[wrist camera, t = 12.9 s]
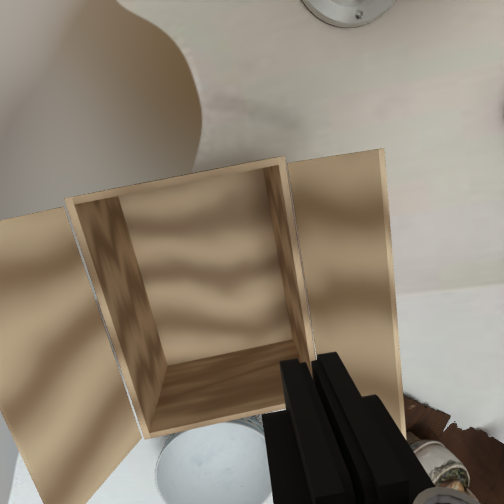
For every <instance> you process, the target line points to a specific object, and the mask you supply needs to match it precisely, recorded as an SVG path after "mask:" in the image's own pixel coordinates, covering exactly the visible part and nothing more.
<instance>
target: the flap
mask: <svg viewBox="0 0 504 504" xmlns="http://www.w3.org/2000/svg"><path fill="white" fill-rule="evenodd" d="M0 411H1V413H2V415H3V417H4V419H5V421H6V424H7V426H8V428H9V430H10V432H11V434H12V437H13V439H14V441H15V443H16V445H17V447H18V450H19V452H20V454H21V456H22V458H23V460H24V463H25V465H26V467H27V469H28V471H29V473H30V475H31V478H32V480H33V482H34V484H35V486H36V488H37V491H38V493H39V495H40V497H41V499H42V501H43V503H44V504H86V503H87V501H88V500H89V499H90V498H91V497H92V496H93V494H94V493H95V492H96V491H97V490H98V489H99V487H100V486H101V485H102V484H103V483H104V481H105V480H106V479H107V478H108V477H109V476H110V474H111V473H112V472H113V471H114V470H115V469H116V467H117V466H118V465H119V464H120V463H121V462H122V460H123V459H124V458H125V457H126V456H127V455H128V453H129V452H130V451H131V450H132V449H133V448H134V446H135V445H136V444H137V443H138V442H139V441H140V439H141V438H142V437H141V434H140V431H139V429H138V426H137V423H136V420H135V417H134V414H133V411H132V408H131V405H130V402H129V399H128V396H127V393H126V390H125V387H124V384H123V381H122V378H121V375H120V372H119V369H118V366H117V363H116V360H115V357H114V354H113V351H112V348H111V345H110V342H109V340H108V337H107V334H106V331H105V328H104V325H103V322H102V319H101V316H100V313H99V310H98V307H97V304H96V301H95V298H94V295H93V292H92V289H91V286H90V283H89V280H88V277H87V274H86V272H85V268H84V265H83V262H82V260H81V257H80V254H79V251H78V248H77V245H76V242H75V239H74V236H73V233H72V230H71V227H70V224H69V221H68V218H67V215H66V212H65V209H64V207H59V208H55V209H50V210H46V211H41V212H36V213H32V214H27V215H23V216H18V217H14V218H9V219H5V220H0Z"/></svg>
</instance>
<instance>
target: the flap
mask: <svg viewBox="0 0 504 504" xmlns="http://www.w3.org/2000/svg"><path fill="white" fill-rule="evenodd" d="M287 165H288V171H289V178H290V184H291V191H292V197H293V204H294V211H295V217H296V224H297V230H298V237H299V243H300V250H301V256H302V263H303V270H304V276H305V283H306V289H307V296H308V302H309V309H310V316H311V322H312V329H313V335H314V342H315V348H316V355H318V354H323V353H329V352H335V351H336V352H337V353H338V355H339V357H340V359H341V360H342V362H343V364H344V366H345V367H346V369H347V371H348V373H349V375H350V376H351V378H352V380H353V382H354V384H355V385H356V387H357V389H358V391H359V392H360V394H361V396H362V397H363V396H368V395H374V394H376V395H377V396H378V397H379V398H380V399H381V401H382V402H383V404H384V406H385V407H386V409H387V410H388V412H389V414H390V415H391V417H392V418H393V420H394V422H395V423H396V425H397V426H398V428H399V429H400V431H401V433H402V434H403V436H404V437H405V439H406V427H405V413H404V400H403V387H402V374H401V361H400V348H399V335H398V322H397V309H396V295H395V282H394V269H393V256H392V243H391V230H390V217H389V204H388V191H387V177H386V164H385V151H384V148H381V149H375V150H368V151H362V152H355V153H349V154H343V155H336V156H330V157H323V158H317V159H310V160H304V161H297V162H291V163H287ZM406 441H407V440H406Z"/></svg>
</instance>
